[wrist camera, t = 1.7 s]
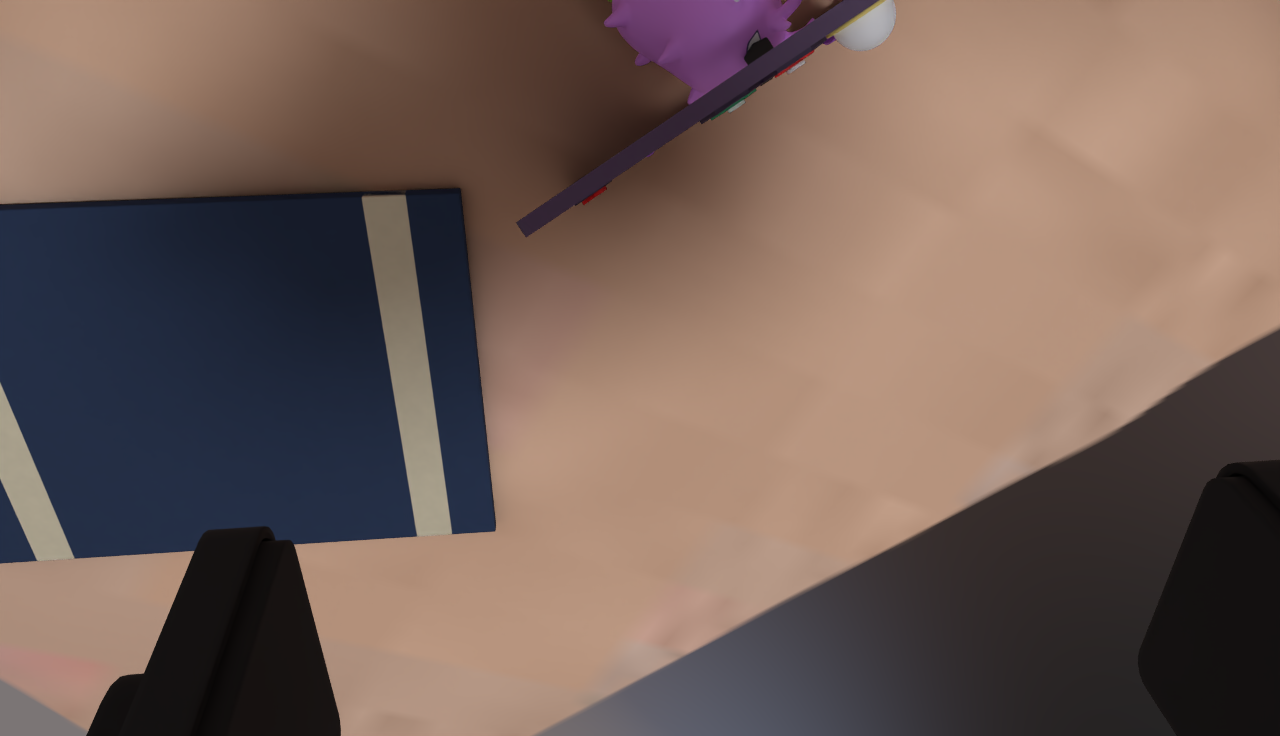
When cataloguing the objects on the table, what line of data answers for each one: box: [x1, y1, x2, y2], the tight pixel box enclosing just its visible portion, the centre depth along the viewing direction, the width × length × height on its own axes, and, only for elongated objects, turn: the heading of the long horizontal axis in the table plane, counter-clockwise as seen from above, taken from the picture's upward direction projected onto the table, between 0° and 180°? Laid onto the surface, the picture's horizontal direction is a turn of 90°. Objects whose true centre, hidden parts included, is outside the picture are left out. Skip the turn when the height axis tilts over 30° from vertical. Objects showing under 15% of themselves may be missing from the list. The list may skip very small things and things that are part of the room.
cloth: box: [0, 188, 496, 563], centre depth 29 cm, size 16×12×1 cm
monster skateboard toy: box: [516, 0, 896, 237], centre depth 22 cm, size 7×5×9 cm
